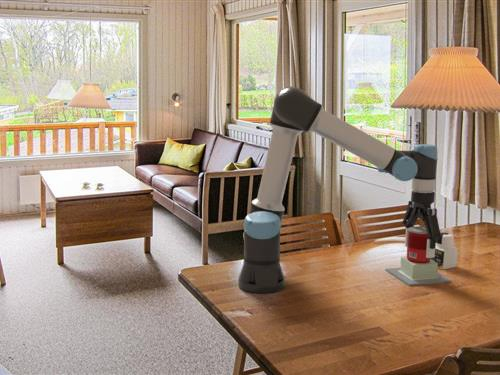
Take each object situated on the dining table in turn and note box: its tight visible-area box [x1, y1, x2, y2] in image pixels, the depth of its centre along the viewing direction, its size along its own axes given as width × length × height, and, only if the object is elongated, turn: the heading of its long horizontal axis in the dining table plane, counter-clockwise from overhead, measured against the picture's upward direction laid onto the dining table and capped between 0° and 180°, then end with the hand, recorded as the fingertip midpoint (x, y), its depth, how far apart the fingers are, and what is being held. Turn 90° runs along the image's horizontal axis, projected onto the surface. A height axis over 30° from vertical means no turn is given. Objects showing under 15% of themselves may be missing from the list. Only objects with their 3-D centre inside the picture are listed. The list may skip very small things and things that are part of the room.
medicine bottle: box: [431, 232, 459, 270], centre depth 212 cm, size 7×7×12 cm
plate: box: [385, 267, 453, 287], centre depth 202 cm, size 16×16×1 cm
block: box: [399, 256, 439, 279], centre depth 201 cm, size 9×9×5 cm
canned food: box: [406, 226, 431, 263], centre depth 200 cm, size 8×8×11 cm
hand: (419, 251), depth 200 cm, fingers open, 13 cm apart
